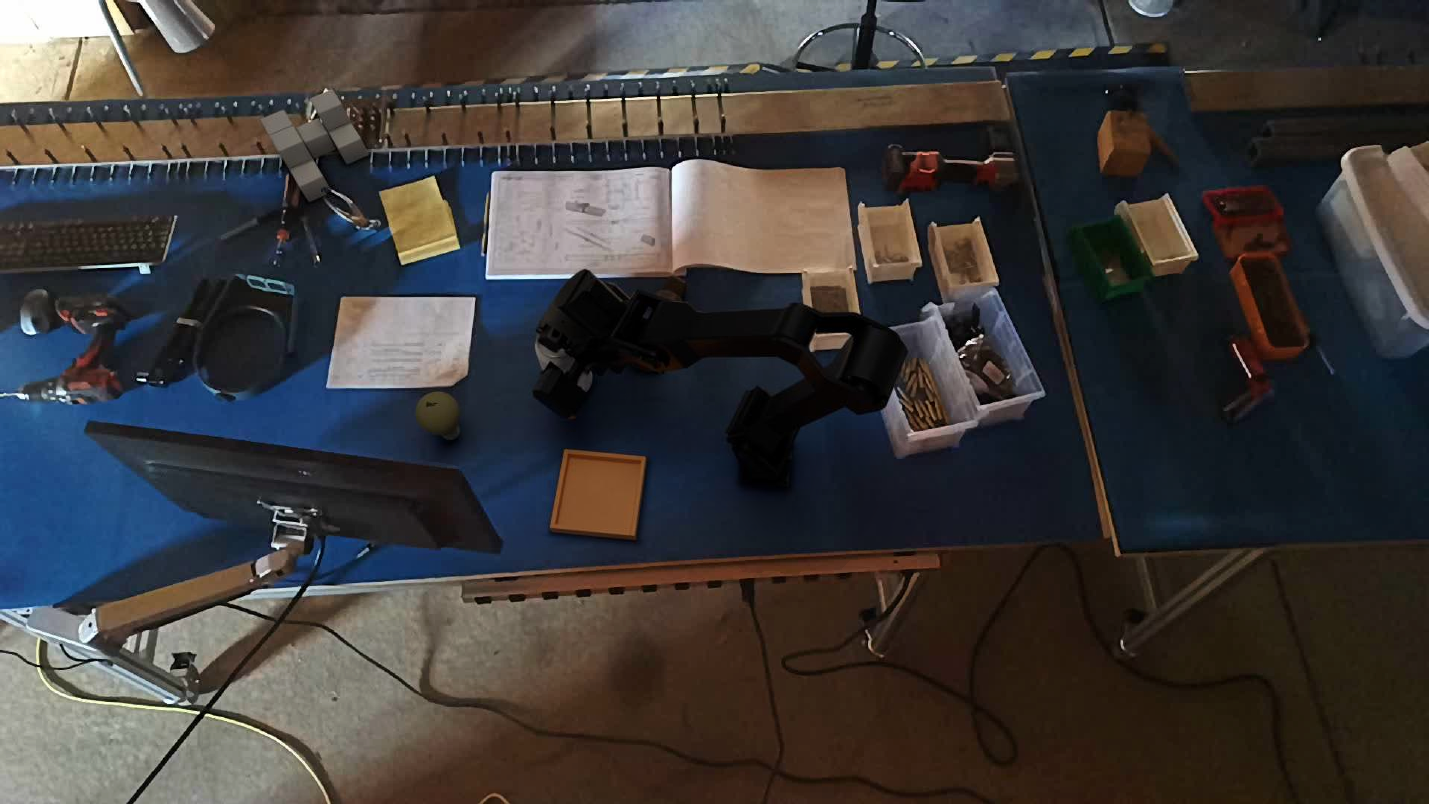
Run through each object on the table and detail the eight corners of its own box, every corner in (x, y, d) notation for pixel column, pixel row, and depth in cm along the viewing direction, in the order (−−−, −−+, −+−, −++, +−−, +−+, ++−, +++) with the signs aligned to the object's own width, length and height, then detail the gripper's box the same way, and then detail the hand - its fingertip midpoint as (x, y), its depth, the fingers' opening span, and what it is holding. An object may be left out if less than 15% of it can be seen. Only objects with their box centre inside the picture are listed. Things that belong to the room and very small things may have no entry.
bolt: (682, 296, 132) (647, 376, 125) (655, 279, 130) (618, 358, 123) (700, 282, 127) (664, 364, 120) (672, 264, 125) (634, 346, 119)
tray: (646, 462, 118) (646, 456, 116) (635, 540, 113) (634, 535, 111) (566, 454, 118) (564, 448, 116) (552, 532, 113) (549, 527, 112)
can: (600, 371, 124) (590, 328, 113) (579, 407, 121) (566, 367, 111) (561, 354, 125) (548, 311, 114) (539, 390, 123) (523, 349, 112)
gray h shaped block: (309, 202, 137) (287, 168, 130) (282, 154, 141) (259, 118, 134) (379, 171, 140) (361, 136, 133) (350, 124, 144) (332, 88, 137)
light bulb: (439, 459, 118) (417, 429, 109) (426, 426, 120) (403, 394, 111) (478, 442, 119) (459, 411, 110) (464, 410, 121) (444, 377, 112)
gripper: (608, 244, 105) (545, 265, 117) (532, 365, 98) (473, 374, 110) (668, 301, 111) (602, 316, 123) (601, 420, 104) (537, 423, 115)
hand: (554, 354), depth 118 cm, fingers closed on can, 6 cm apart
